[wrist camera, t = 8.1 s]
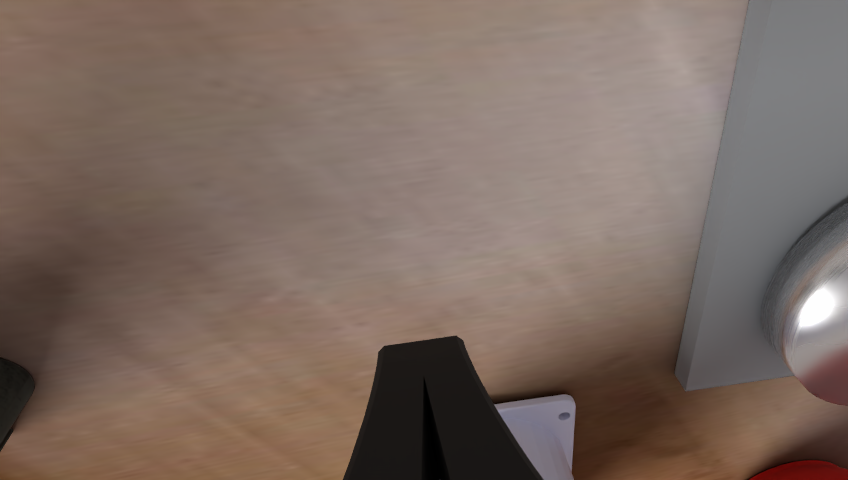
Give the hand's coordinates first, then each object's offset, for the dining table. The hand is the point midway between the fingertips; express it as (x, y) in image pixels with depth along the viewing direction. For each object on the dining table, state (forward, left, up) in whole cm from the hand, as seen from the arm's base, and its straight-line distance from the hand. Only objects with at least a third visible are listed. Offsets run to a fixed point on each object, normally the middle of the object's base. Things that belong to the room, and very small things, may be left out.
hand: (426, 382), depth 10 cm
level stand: (-4, -18, -9) cm, 21 cm away
